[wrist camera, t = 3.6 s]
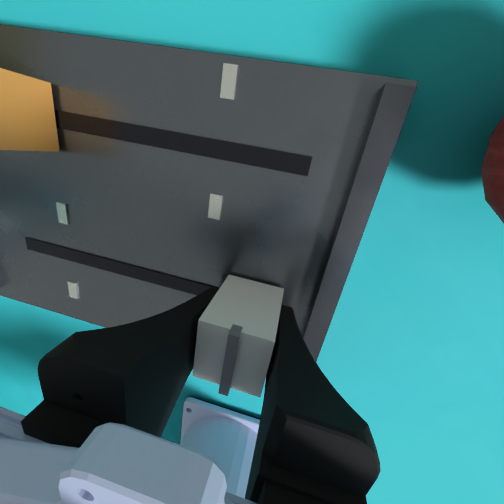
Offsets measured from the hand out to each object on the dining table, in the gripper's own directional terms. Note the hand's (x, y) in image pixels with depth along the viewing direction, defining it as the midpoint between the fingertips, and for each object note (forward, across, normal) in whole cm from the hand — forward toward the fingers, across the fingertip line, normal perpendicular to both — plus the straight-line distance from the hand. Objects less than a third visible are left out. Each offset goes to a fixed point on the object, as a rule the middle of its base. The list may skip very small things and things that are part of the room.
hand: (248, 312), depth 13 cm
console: (+2, +8, -3) cm, 9 cm away
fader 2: (+1, 0, 0) cm, 1 cm away
